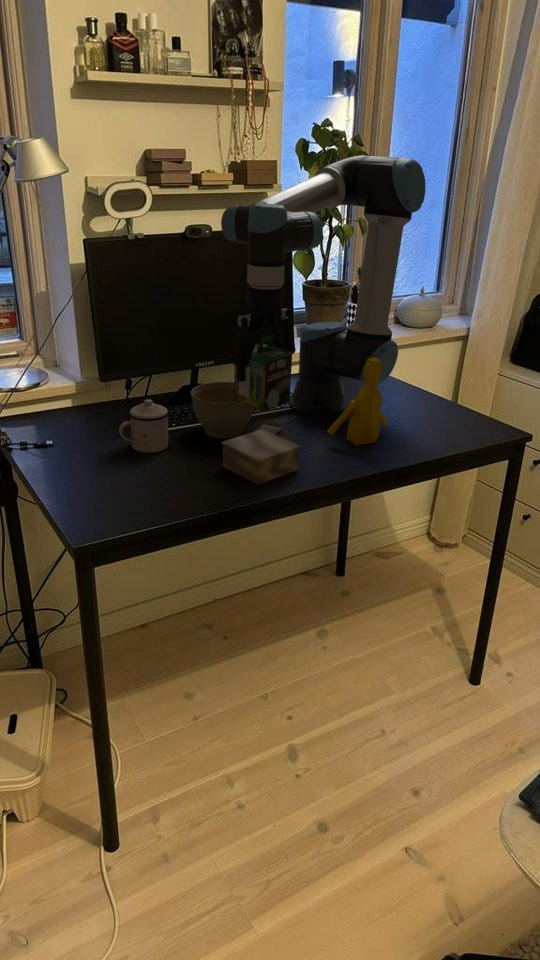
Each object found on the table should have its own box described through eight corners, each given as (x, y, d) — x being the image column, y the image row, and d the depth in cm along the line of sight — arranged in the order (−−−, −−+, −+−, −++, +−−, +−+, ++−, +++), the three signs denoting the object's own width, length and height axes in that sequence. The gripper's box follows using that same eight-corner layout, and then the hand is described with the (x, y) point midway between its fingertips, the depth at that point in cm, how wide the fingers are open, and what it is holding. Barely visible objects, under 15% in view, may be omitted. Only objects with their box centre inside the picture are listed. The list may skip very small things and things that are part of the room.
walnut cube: (263, 443, 179) (263, 424, 177) (281, 447, 177) (282, 428, 175) (253, 450, 175) (254, 431, 173) (272, 454, 173) (273, 435, 171)
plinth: (262, 452, 174) (263, 429, 171) (299, 470, 165) (300, 445, 163) (221, 466, 166) (221, 441, 163) (257, 485, 158) (258, 460, 155)
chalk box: (259, 392, 164) (261, 327, 158) (291, 402, 159) (294, 335, 153) (231, 402, 158) (232, 334, 152) (264, 412, 153) (266, 343, 146)
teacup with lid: (159, 436, 181) (158, 391, 176) (175, 449, 174) (174, 403, 169) (113, 445, 175) (110, 399, 170) (128, 459, 168) (125, 411, 163)
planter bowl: (238, 417, 194) (239, 378, 190) (266, 438, 182) (267, 397, 177) (182, 426, 187) (181, 385, 183) (207, 449, 175) (206, 406, 170)
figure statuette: (381, 431, 188) (390, 348, 179) (399, 442, 182) (409, 357, 172) (322, 441, 181) (328, 355, 171) (338, 453, 175) (345, 364, 165)
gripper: (292, 277, 157) (287, 377, 167) (210, 288, 143) (210, 396, 153) (316, 283, 152) (310, 385, 162) (235, 295, 138) (233, 406, 148)
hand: (262, 390), depth 157 cm, fingers closed on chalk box, 9 cm apart
